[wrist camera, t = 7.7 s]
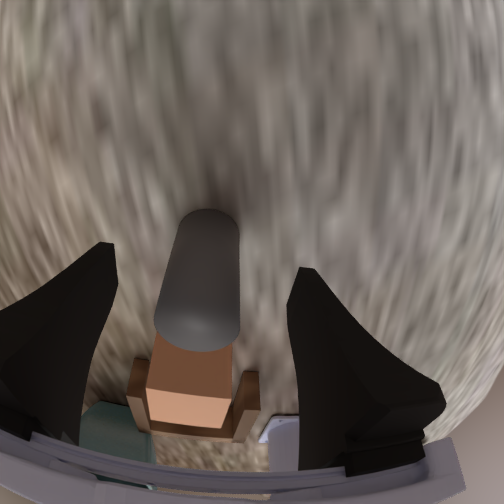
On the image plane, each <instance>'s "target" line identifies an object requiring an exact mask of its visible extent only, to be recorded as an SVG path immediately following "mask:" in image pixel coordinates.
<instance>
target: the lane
mask: <svg viewBox="0 0 504 504" xmlns="http://www.w3.org/2000/svg"><path fill="white" fill-rule="evenodd" d="M149 368H150V364H149V360H143V359H137V358H134V362H133V367H132V371H131V375H130V380H129V384H128V389H127V393H126V397H127V400H128V403H129V406H130V409H131V411H132V414H133V417H134V420H135V422H136V425H137V428H138V430H139V432H141V433H147V434H153V435H160V436H166V437H174V438H182V439H191V440H201V441H213V442H228V443H244V442H245V440H246V438H247V436H248V434H249V432H250V430H251V428H252V426H253V425H254V423H255V421H256V419H257V417H258V415H259V413H260V411H261V408H260V391H259V374H258V372H247V371H243V374H242V378H241V381H240V384H239V387H238V391H237V394H236V397H235V400H234V404H233V407H229V408H228V411H227V413H226V416H225V419H224V421H223V424H222V427H221V428H210V427H200V426H191V425H183V424H176V423H169V422H162V421H156V420H151V418H150V413H149V407H148V400H147V394H146V383H147V378H148V373H149Z"/></svg>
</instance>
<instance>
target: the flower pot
mask: <svg viewBox="0 0 504 504" xmlns="http://www.w3.org/2000/svg"><path fill="white" fill-rule="evenodd" d="M79 447H81V448H85V449H88V450H92V451H96V452H99V453H103V454H108V455H112V456H116V457H121V458H125V459H130V460H135V461H140V462H146V463H152V464H157V462H156V453H155V448H154V444H153V440H152V436H151V434H147V433H141V432H139V430H138V428H137V425H136V422H135V420H134V417H133V414H132V411H131V409H130V407H127V406H121V405H117V404H113V403H108V402H104V401H99V402H97V403H96V404H94V405H93V406H92V407H90V408H89V409H88V410H87V411H86V412H85V413H84V414H83V415H82V416H81V422H80V435H79ZM83 471H84V470H83ZM86 472H88V471H86ZM89 473H91V472H89ZM91 474H94V475H95V476H96V477H97V479H98V480H99V481H106V482H114V483H119V484H124V485H130V486H135V487H140V488H145V489H151V490H157V487H155V486H149V485H143V484H138V483H133V482H128V481H123V480H119V479H114V478H110V477H106V476H102V475H98V474H95V473H91Z"/></svg>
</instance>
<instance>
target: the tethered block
mask: <svg viewBox="0 0 504 504" xmlns="http://www.w3.org/2000/svg"><path fill="white" fill-rule="evenodd" d="M154 325H155V328H156V330H157V334H156V338H155V343H154V348H153V353H152V358H151V363H150V368H149V373H148V378H147V383H146V394H147V400H148V407H149V413H150V418H151V420H156V421H162V422H169V423H176V424H183V425H191V426H200V427H210V428H221V427H222V424H223V421H224V419H225V416H226V413H227V411H228V408H229V405H230V402H231V400H232V342H233V341H234V340H235V339H236V338H237V336H238V334H239V331H240V269H239V230H238V227H237V225H236V224H235V222H234V221H233V220H232V219H231V218H230V217H229V216H228V215H226V214H225V213H222V212H220V211H217V210H213V209H201V210H197V211H194V212H192V213H190V214H188V215H187V216H186V217H185V218H184V219H183V220H182V221H181V223H180V225H179V228H178V231H177V234H176V238H175V241H174V244H173V248H172V251H171V255H170V258H169V262H168V265H167V269H166V272H165V276H164V280H163V283H162V287H161V291H160V295H159V298H158V302H157V306H156V310H155V314H154Z"/></svg>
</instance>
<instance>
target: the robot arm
mask: <svg viewBox="0 0 504 504" xmlns="http://www.w3.org/2000/svg"><path fill="white" fill-rule="evenodd" d="M117 287H118V276H117V268H116V259H115V249H114V244H113V243H106V242H99V243H98V244H96V245H95V246H94V247H92V248H91V249H90V250H88V251H87V252H86V253H85V254H83V255H82V256H81V257H80V258H78V259H77V260H76V261H75V262H73V263H72V264H71V265H70V266H68V267H67V268H66V269H65V270H63V271H62V272H61V273H59V274H58V275H57V276H55V277H54V278H53V279H51V280H50V281H49V282H47V283H46V284H45V285H43V286H42V287H40V288H39V289H37V290H36V291H34V292H32V293H31V294H29V295H28V296H26V297H24V298H23V299H21V300H19V301H17V302H15V303H14V304H12V305H10V306H8V307H6V308H4V309H2V310H0V485H1V486H3V487H5V488H7V489H8V490H10V491H12V492H14V493H16V494H18V495H20V496H22V497H25V498H27V499H29V500H31V501H33V502H35V503H38V504H436V503H439V502H441V501H444V500H446V499H448V498H450V497H452V496H455V495H457V494H459V493H461V492H463V491H465V490H466V485H465V482H464V478H463V474H462V471H461V467H460V464H459V460H458V457H457V454H456V451H455V447H454V444H453V441H452V438H451V437H448V438H444V439H441V440H438V441H434V442H431V443H428V444H426V445H424V446H423V445H422V442H421V439H423V438H424V437H425V434H424V431H423V429H424V428H425V427H426V426H427V425H429V424H430V423H431V422H432V421H434V420H435V419H436V418H437V417H438V416H440V415H441V414H442V413H443V411H444V410H445V408H446V404H447V403H446V400H445V398H444V395H443V393H442V390H441V388H440V385H439V383H437V382H435V381H433V380H432V379H430V378H428V377H426V376H424V375H423V374H421V373H419V372H418V371H416V370H414V369H413V368H412V367H410V366H409V365H407V364H406V363H404V362H403V361H401V360H400V359H399V358H397V357H396V356H395V355H393V354H392V353H391V352H390V351H388V350H387V349H386V348H385V347H383V346H382V345H381V344H380V343H379V342H378V341H377V340H376V339H375V338H373V337H372V336H371V335H370V334H369V333H368V332H367V331H366V330H365V329H364V328H363V327H362V326H361V325H360V324H359V323H358V322H357V320H356V319H355V318H354V317H353V316H352V315H351V314H350V313H349V312H348V310H347V309H346V308H345V307H344V306H343V304H342V303H341V302H340V301H339V299H338V298H337V297H336V296H335V294H334V293H333V292H332V291H331V289H330V288H329V287H328V285H327V284H326V283H325V282H324V280H323V279H322V278H321V276H320V275H319V274H318V273H317V271H316V270H315V269H313V268H305V267H299V270H298V273H297V276H296V278H295V281H294V284H293V287H292V290H291V293H290V296H289V299H288V302H287V304H286V305H287V325H288V332H289V338H290V343H291V348H292V354H293V359H294V365H295V370H296V376H297V384H298V401H299V416H273V417H272V418H271V419H270V421H269V423H268V424H267V426H266V428H265V429H264V431H263V432H262V434H261V436H260V437H259V439H258V442H259V443H268V454H269V469H270V472H228V471H211V470H198V469H188V468H180V467H172V466H165V465H158V464H152V463H146V462H140V461H135V460H130V459H125V458H121V457H116V456H112V455H108V454H103V453H99V452H96V451H92V450H88V449H85V448H81V447H79V435H80V422H81V413H82V406H83V399H84V393H85V387H86V382H87V377H88V373H89V368H90V364H91V360H92V357H93V354H94V350H95V348H96V345H97V343H98V340H99V337H100V335H101V332H102V330H103V327H104V325H105V322H106V320H107V318H108V315H109V313H110V310H111V308H112V305H113V302H114V298H115V295H116V291H117ZM83 470H84V471H83ZM86 471H88V472H86ZM89 472H91V473H95V474H98V475H102V476H106V477H110V478H114V479H119V480H123V481H128V482H133V483H138V484H143V485H149V486H155V487H162V488H168V489H177V490H185V491H194V492H208V493H226V494H271V496H270V499H269V500H250V499H244V498H230V497H229V498H228V497H212V496H198V495H187V494H178V493H170V492H164V491H157V490H151V489H145V488H140V487H135V486H130V485H124V484H119V483H114V482H106V481H99V480H98V479H97V477H96V476H95V475H94V474H91V473H89Z"/></svg>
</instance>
